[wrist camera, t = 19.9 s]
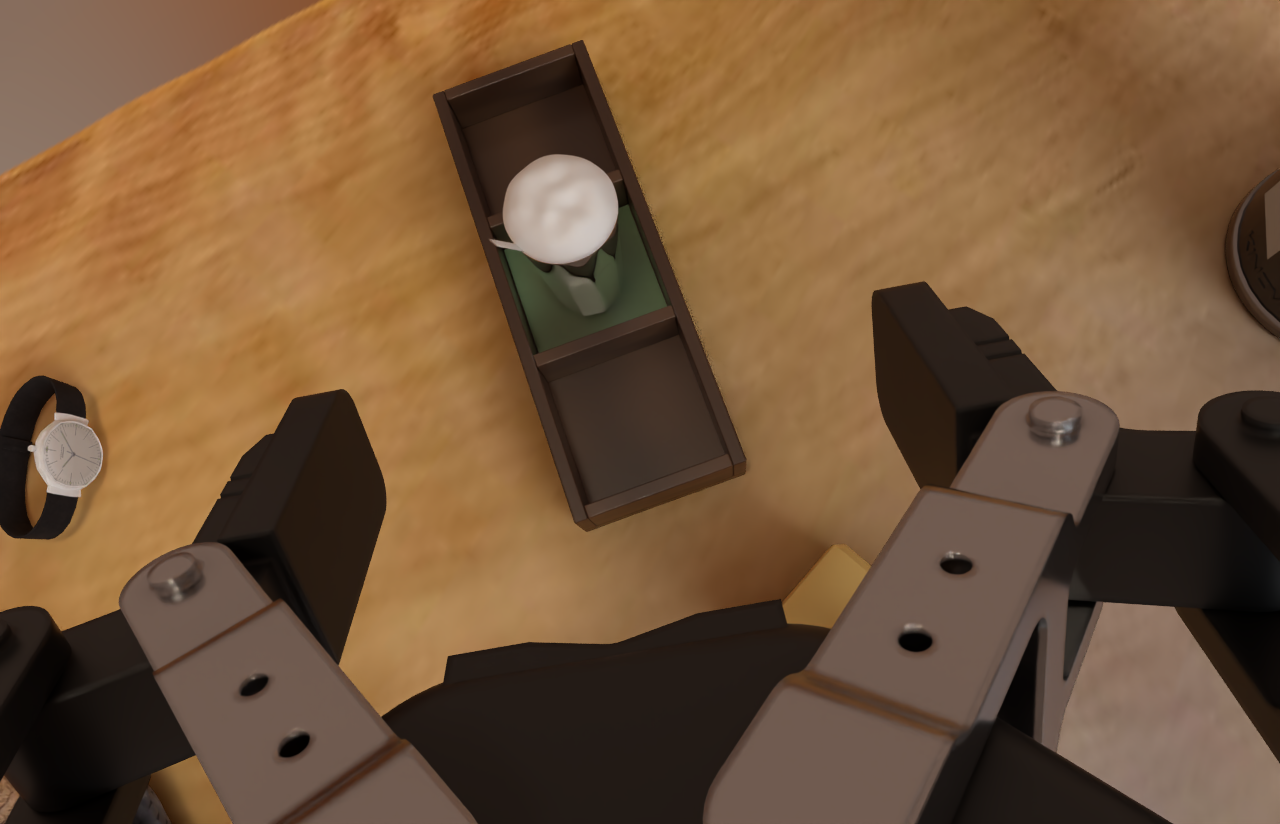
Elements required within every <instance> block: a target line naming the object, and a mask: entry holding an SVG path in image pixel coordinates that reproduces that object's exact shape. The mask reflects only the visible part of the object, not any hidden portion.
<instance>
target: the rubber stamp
mask: <svg viewBox="0 0 1280 824" xmlns="http://www.w3.org/2000/svg"><path fill="white" fill-rule="evenodd" d="M870 567H871V565H870V564H868V563H867V562H866V561H865V560H864V559H862V558H861V557H860V556H859V555H858V554H856V553H855V552H854V551H853V550H852V549H850V548H849V547H848V546H847V545H845V544H840V545H832V546H831V547H830V548H829V549H828V550H827V551H826V552H825V553H824V554H823V555H822V556H821V557H820V559H819V560H818V561H817V562H816V563H815V564H814V566H813V567H812V568H811V569H810V570H809V572H808V573H807V574H806V575H805V576H804V577H803V579H802V580H801V581H800V582H799V583H798V584H797V586H796V587H795V588H794V589H793V590H792V592H791V593H790V594H789V595H788V596H787V597H786V599H785V600H784V601H783V602H782V606H783V610H784V613H785V617H786V621H787V623H791V624H806V625H814V626H821V627H826V628H830V629H831V628H832V627H833V625H834V624H835V622H836V621H837V619H838V617H839V616H840V614H841V613H842V611H843V610H844V608H845V606H846V605H847V603H848V602H849V600H850V599H851V597H852V595H853V594H854V592H855V591H856V589H857V588H858V586H859V585H860V583H861V581H862V580H863V578H864V577H865V575H866V574H867V572H868V570H869V569H870Z"/></svg>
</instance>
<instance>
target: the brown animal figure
mask: <svg viewBox="0 0 1280 824" xmlns="http://www.w3.org/2000/svg"><path fill="white" fill-rule="evenodd" d="M19 796H20V795H19V794H18V792H17V791H16V790H15V789H14V787H13V786H12V785H11V784H10V782H9V781H8V780H7V779H6V777H5V776H3V778H2V780H1V781H0V824H4V823H5V822H6V820H7V818H8V816H9V814H10V812H11V810H12V809H13V807H14V805H15V803H16V801H17V799H18V798H19ZM132 824H172V823H171V821H170V820H169V818H168V816H167V814H166V812H165V810H164V808H163V806H162V804H161V802H160V800H159V799H158V797H157V796H156V794H155V793H154V791H153V790H152V789H151V788H150V786H149V785H148V786H147V788H146V791H145V793H144V795H143V798H142V800H141V803H140V805H139V808H138V810H137V813H136V815H135V818H134V820H133V822H132Z"/></svg>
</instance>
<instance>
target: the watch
mask: <svg viewBox="0 0 1280 824" xmlns="http://www.w3.org/2000/svg"><path fill="white" fill-rule="evenodd" d="M53 394H55V395H56V401H57V404H56V413H54V415H55V421H53V422H52V423H51V424H49V425H48V426H47V427H46V428H44V429H43V430H42V431H41V432H40V434H39V436H38V438H37V440H36V443H35V446H33V445H32V442H30V441H31V438H32V435H33V431H34V428H35V424H36V421H37V419H38V417H39V415H40V412H41V410H42V408H43V407H44V405H45V404H46V402H47V401H48V400H49V399H50V398H51V397H52V396H53ZM88 422H89V420H87V419H86V407H85V402H84V399H83V396H82V393H81V392H80V391H79V390H78V389H77V388H76V387H74V386H71V385H69V384H66V383H63V382H60V381H57V380H55V379H52V378H49V377H46V376H36V377H33V378H32V379H30V380H29V381H28V382H26V383H25V384H24V385H23V386H22V387H21V388H20V389H19V390H18V391H17V393H16V394H15V396H14V397H13V399H12V401H11V402H10V405H9V407H8V409H7V412H6V414H5V416H4V419H3V422H2V425H1V428H0V525H1V527H2V529H3V530H4V531H5V532H6V533H7V534H8V535H9V536H11V537H13V538H24V539H53V538H55V537H57V536H58V535H60V534H61V533H62V532H63V531H64V530H65V529H66V527H67V526H68V524H69V523H70V521H71V518H72V516H73V513H74V511H75V508H76V504H77V500H78V497H81V489H83V488H84V487H86V486H88V485H89V484H90V483H91V482H92V481H93V480H94V479H95V478H96V476H97V475H98V473H99V472H100V470H101V466H102V461H103V450H102V447H101V444H100V441H99V439H98V437H97V436H96V434H95V433H94V431H93V430H92V428H90V427H88V426H87V425H88ZM30 451H31V452H34V458H35V463H36V468H37V470H38V472H39V474H40V475H41V477H42V478H43V480H44V481H45V483H46V484H47V485H48V486H47V491H46V492H47V497H46V502H45V505H44V508H43V512H42V515H41V517H40V519H39V520H38V522H37V524H36V525H35V527H34V528H33V527H32V525H31V523H30V521H29V518H28V515H27V510H26V505H25V484H26V474H27V465H28V459H29V454H30Z"/></svg>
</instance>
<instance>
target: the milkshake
mask: <svg viewBox="0 0 1280 824" xmlns="http://www.w3.org/2000/svg"><path fill="white" fill-rule="evenodd" d="M503 222H504V226H505V229H506V231H507V233H508V235H509V237H510V239H511V240H512V242H513V243H509V242H504V241H499V240H494V239H489V240H490V241H491V242H492V243H493V244H494V245H495V246H497V247H501V248H507V249H512V250H517V251H521V252H522V253H523V255H524V256H525V257H526V258H527V259H528V260H529V262H530V263H531V264H532V265H533V266H534V267H535V269H536V270H537V271H538V272H539V273H540V275H541V276H542V277H543V279H544V280H545V281H546V283H547V284H548V285H549V287H550V288H551V289H552V291H553V292H554V293H555V295H556V296H557V297H558V299H559V300H560V301H561V303H562V304H563V305H564V307H565V308H567V309H570V310H572V311H574V312H577V313H579V314H581V315H583V316H587V315H592V314H597V313H602V312H606V311H607V310H608V309H609V308H610V307H611V306H612V305H613V304H614V303H615V302H616V301H617V300H618V299H619V298H620V297H621V291H622V284H623V278H624V272H623V263H622V253H621V244H620V235H619V215H618V200H617V195H616V191H615V188H614V185H613V183H612V181H611V180H610V178H609V177H608V176H607V174H606V173H605V172H604V171H603V170H602V169H600V168H599V167H598V166H596V165H595V164H593V163H592V162H590V161H588V160H586V159H584V158H581V157H577V156H571V155H560V154H555V155H547V156H544V157H541V158H539V159H537V160H535V161H533V162H532V163H530V164H529V165H528V166H526V167H525V168H524V169H523V170H522V171H520V172H519V173H518V174H517V175H516V176H515V177H514V178H513V179H512V181H511V182H510V184H509V186H508V188H507V191H506V195H505V200H504V206H503Z"/></svg>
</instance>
